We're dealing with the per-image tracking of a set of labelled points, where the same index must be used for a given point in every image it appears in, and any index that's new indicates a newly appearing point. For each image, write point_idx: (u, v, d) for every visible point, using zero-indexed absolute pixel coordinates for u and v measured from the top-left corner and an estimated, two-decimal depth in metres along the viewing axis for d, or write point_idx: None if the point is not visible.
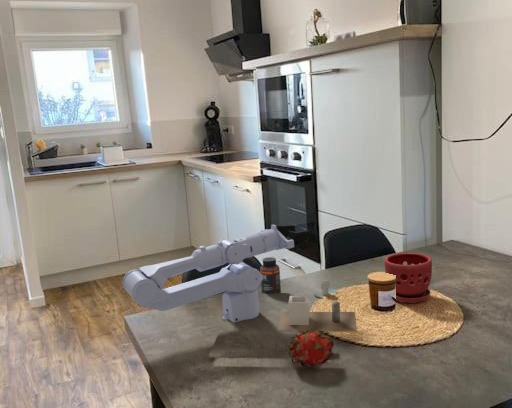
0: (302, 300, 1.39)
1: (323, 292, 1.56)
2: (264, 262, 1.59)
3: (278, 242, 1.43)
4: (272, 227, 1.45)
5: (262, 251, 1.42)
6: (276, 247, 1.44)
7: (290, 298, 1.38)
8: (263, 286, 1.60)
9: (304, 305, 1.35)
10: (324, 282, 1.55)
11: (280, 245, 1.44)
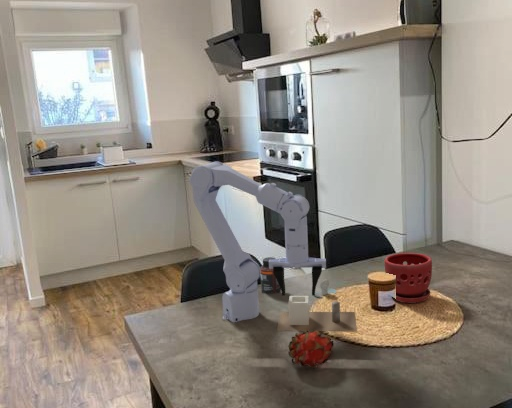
0: (302, 300, 1.39)
1: (322, 292, 1.56)
2: (264, 262, 1.59)
3: (286, 259, 1.36)
4: (297, 264, 1.32)
5: (287, 242, 1.33)
6: None
7: (290, 298, 1.38)
8: (263, 286, 1.60)
9: (304, 305, 1.35)
10: (323, 282, 1.55)
11: None
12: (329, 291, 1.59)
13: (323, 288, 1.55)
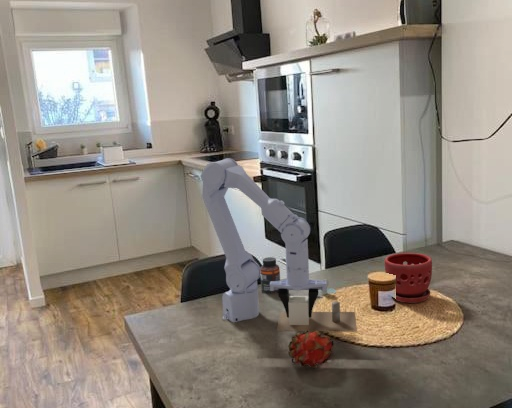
0: (302, 300, 1.39)
1: (322, 292, 1.56)
2: (264, 262, 1.59)
3: (287, 281, 1.37)
4: (298, 287, 1.33)
5: (288, 265, 1.34)
6: None
7: (290, 298, 1.38)
8: (263, 286, 1.60)
9: (304, 305, 1.35)
10: None
11: (287, 281, 1.38)
12: (329, 291, 1.59)
13: None
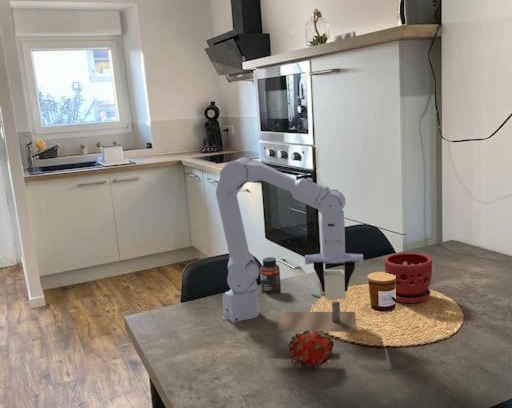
0: (337, 274, 1.37)
1: (321, 291, 1.56)
2: (264, 262, 1.59)
3: (322, 254, 1.35)
4: (334, 259, 1.31)
5: (325, 238, 1.31)
6: None
7: (325, 272, 1.36)
8: (263, 286, 1.60)
9: (341, 279, 1.32)
10: None
11: None
12: None
13: None
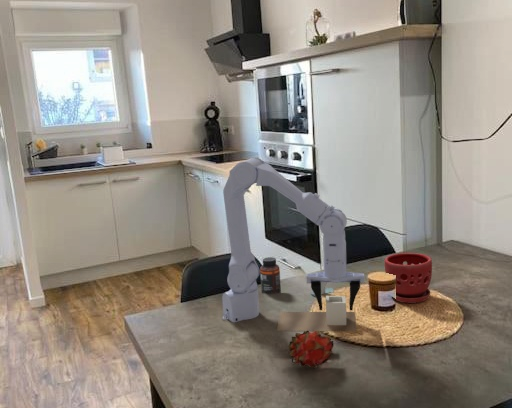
0: (338, 300, 1.38)
1: None
2: (264, 262, 1.59)
3: (323, 273, 1.36)
4: (336, 279, 1.32)
5: (326, 257, 1.32)
6: None
7: (327, 298, 1.37)
8: (263, 286, 1.60)
9: (342, 305, 1.34)
10: None
11: (324, 274, 1.37)
12: (327, 290, 1.59)
13: (321, 287, 1.56)
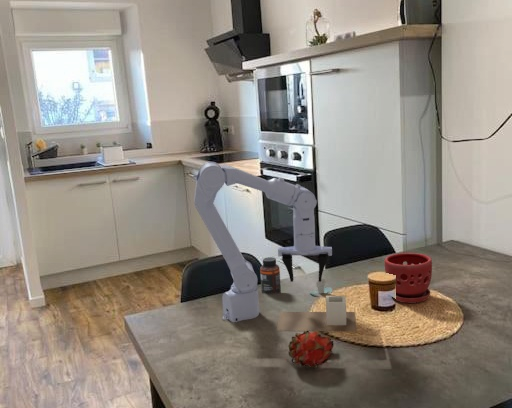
0: (338, 300, 1.38)
1: (319, 290, 1.57)
2: (264, 262, 1.59)
3: (294, 247, 1.44)
4: (305, 251, 1.41)
5: (300, 232, 1.41)
6: None
7: (327, 298, 1.37)
8: (263, 286, 1.60)
9: (342, 305, 1.34)
10: None
11: None
12: (325, 290, 1.60)
13: (319, 287, 1.57)
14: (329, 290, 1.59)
